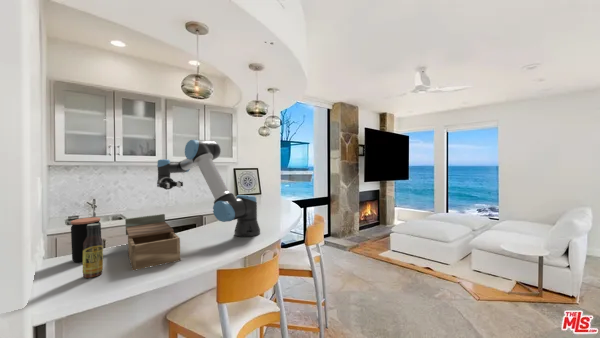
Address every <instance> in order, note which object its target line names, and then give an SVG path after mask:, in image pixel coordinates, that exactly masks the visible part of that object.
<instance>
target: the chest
mask: <svg viewBox="0 0 600 338" xmlns="http://www.w3.org/2000/svg"><path fill="white" fill-rule="evenodd" d="M127 250H128V253H127V254H128V259H129V263H130V262H131V263H130V266H132V267H131V270H134V271H137V270H136V269H139V270H142V269H141V268H143V269H146V268H145V267H148V268H151V267H150V266H153V267H156V265H157V266H160V264H162V265H165V263H167V264H169V263H170V262H171V263H175V262H174V261H176V262H181V238H180V237H179V236H178V235H177V233H175V232H168V233H162V234H155V235H149V236H142V237H136V238H129V236H128V235H127Z"/></svg>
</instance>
